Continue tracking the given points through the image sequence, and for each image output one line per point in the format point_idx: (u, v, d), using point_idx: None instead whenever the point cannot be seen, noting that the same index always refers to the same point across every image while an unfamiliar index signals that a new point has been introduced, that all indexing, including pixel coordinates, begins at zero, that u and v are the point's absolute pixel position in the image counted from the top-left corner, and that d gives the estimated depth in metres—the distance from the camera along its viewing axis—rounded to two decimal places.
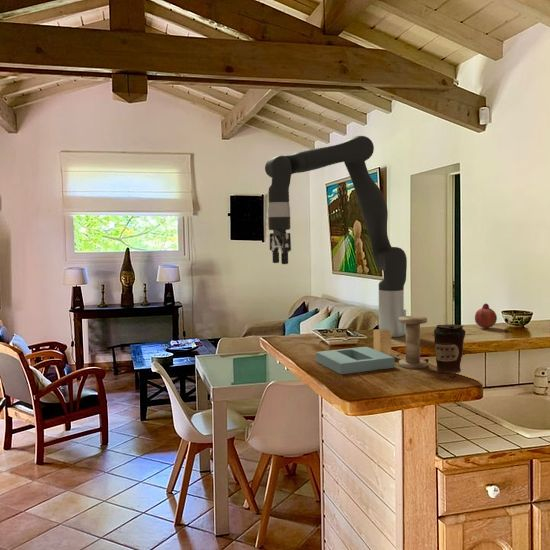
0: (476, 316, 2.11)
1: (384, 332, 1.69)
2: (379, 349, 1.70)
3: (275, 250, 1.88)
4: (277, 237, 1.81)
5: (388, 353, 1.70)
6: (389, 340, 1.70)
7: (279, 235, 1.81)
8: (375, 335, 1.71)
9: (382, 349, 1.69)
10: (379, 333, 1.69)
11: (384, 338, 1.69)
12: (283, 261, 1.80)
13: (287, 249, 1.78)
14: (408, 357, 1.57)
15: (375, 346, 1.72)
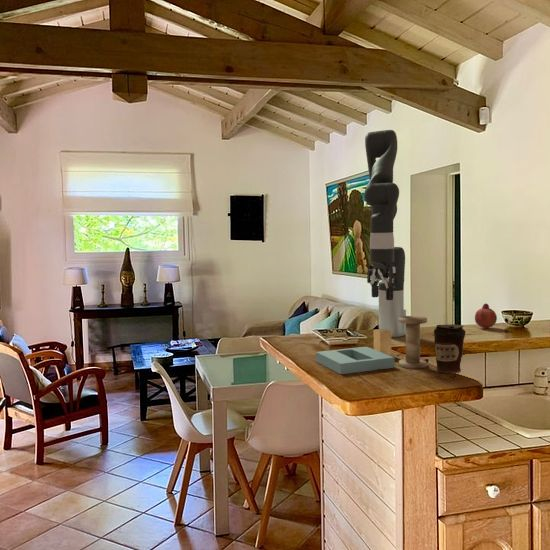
0: (476, 316, 2.11)
1: (384, 332, 1.69)
2: (379, 349, 1.70)
3: (374, 283, 1.74)
4: (381, 270, 1.67)
5: (388, 353, 1.70)
6: (389, 340, 1.70)
7: (383, 268, 1.67)
8: (375, 335, 1.71)
9: (382, 349, 1.69)
10: (379, 333, 1.69)
11: (384, 338, 1.69)
12: (388, 297, 1.65)
13: (394, 284, 1.63)
14: (408, 357, 1.57)
15: (375, 346, 1.72)
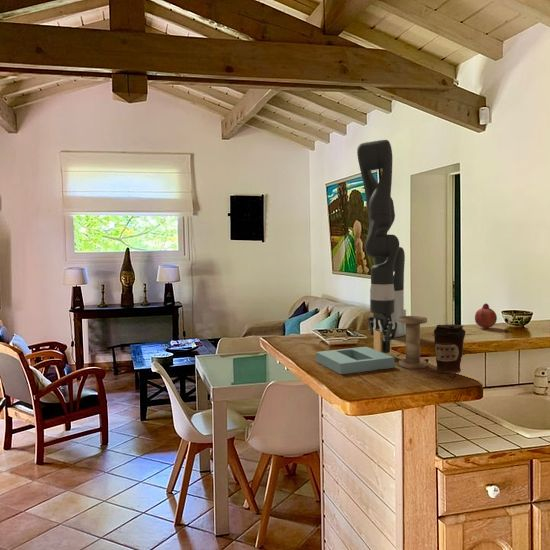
0: (476, 316, 2.11)
1: None
2: (379, 349, 1.69)
3: None
4: (381, 322, 1.68)
5: (388, 353, 1.70)
6: None
7: (383, 319, 1.68)
8: (375, 335, 1.71)
9: (382, 349, 1.69)
10: (379, 333, 1.69)
11: None
12: (385, 350, 1.69)
13: (391, 338, 1.67)
14: (408, 357, 1.57)
15: (375, 346, 1.72)
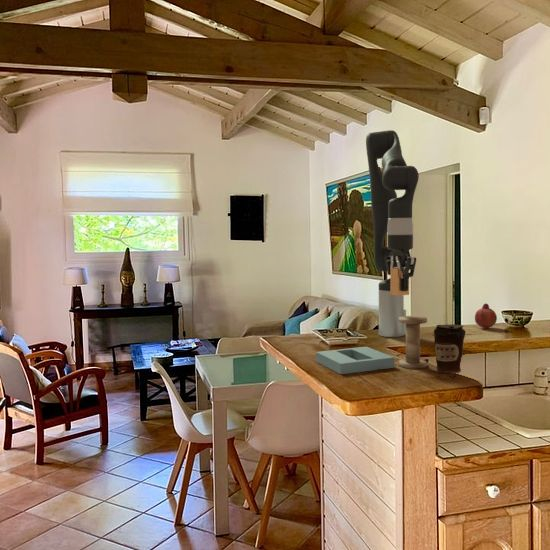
0: (476, 316, 2.11)
1: None
2: (396, 287, 1.60)
3: None
4: (399, 258, 1.59)
5: (406, 292, 1.61)
6: None
7: (402, 255, 1.59)
8: (392, 273, 1.62)
9: (399, 287, 1.60)
10: (396, 270, 1.60)
11: None
12: (403, 288, 1.59)
13: (409, 275, 1.57)
14: (408, 357, 1.57)
15: (392, 285, 1.63)
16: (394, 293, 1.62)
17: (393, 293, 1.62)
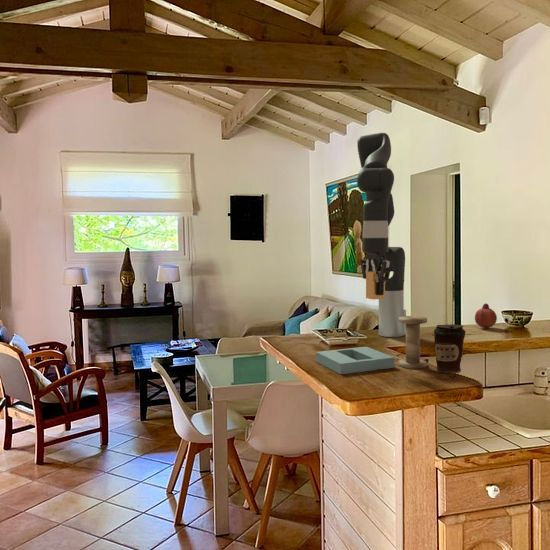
0: (476, 316, 2.11)
1: None
2: (372, 291, 1.58)
3: None
4: (374, 262, 1.57)
5: (381, 296, 1.58)
6: None
7: (377, 258, 1.56)
8: (368, 277, 1.60)
9: (375, 291, 1.58)
10: (372, 274, 1.57)
11: None
12: (378, 292, 1.57)
13: (384, 278, 1.55)
14: (408, 357, 1.57)
15: (368, 289, 1.60)
16: (369, 297, 1.59)
17: (368, 297, 1.60)
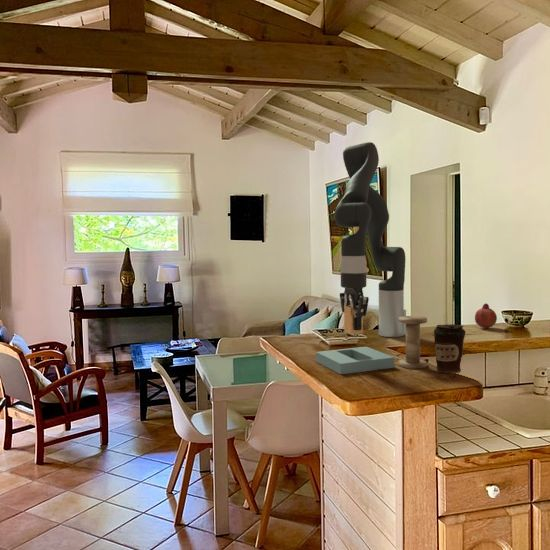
0: (476, 316, 2.11)
1: None
2: (350, 326, 1.57)
3: None
4: (352, 297, 1.56)
5: (359, 331, 1.58)
6: None
7: (354, 294, 1.56)
8: (346, 311, 1.59)
9: (352, 326, 1.57)
10: (350, 309, 1.57)
11: None
12: (356, 327, 1.56)
13: (362, 314, 1.54)
14: (408, 357, 1.57)
15: (346, 323, 1.59)
16: (347, 331, 1.59)
17: (346, 331, 1.59)
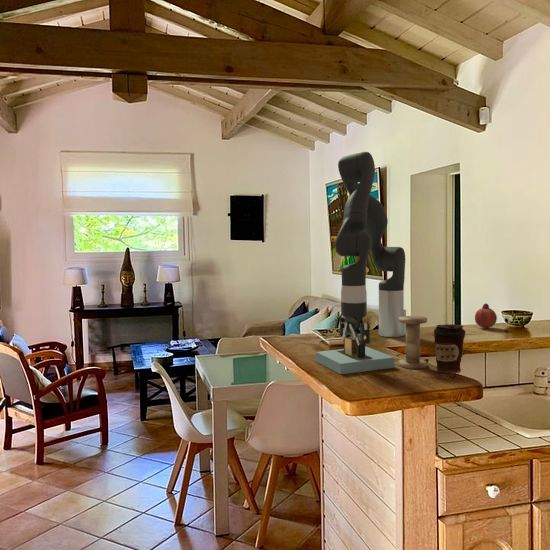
0: (476, 316, 2.11)
1: None
2: None
3: None
4: (352, 326, 1.57)
5: None
6: None
7: (355, 323, 1.56)
8: (346, 343, 1.60)
9: None
10: (350, 341, 1.58)
11: (356, 346, 1.58)
12: (360, 354, 1.55)
13: (365, 342, 1.53)
14: (408, 357, 1.57)
15: (346, 355, 1.60)
16: None
17: None
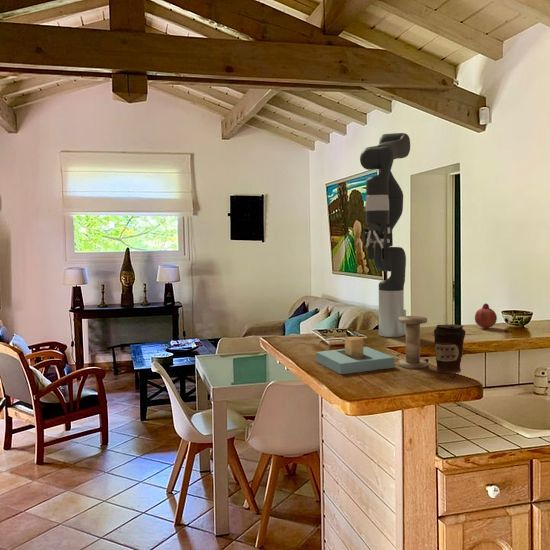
0: (476, 316, 2.11)
1: (356, 340, 1.58)
2: None
3: (370, 246, 1.79)
4: (376, 232, 1.72)
5: None
6: (361, 349, 1.59)
7: (378, 230, 1.72)
8: (346, 343, 1.60)
9: None
10: (350, 341, 1.58)
11: (356, 346, 1.58)
12: (383, 257, 1.71)
13: (389, 244, 1.69)
14: (408, 357, 1.57)
15: (346, 355, 1.60)
16: None
17: None
